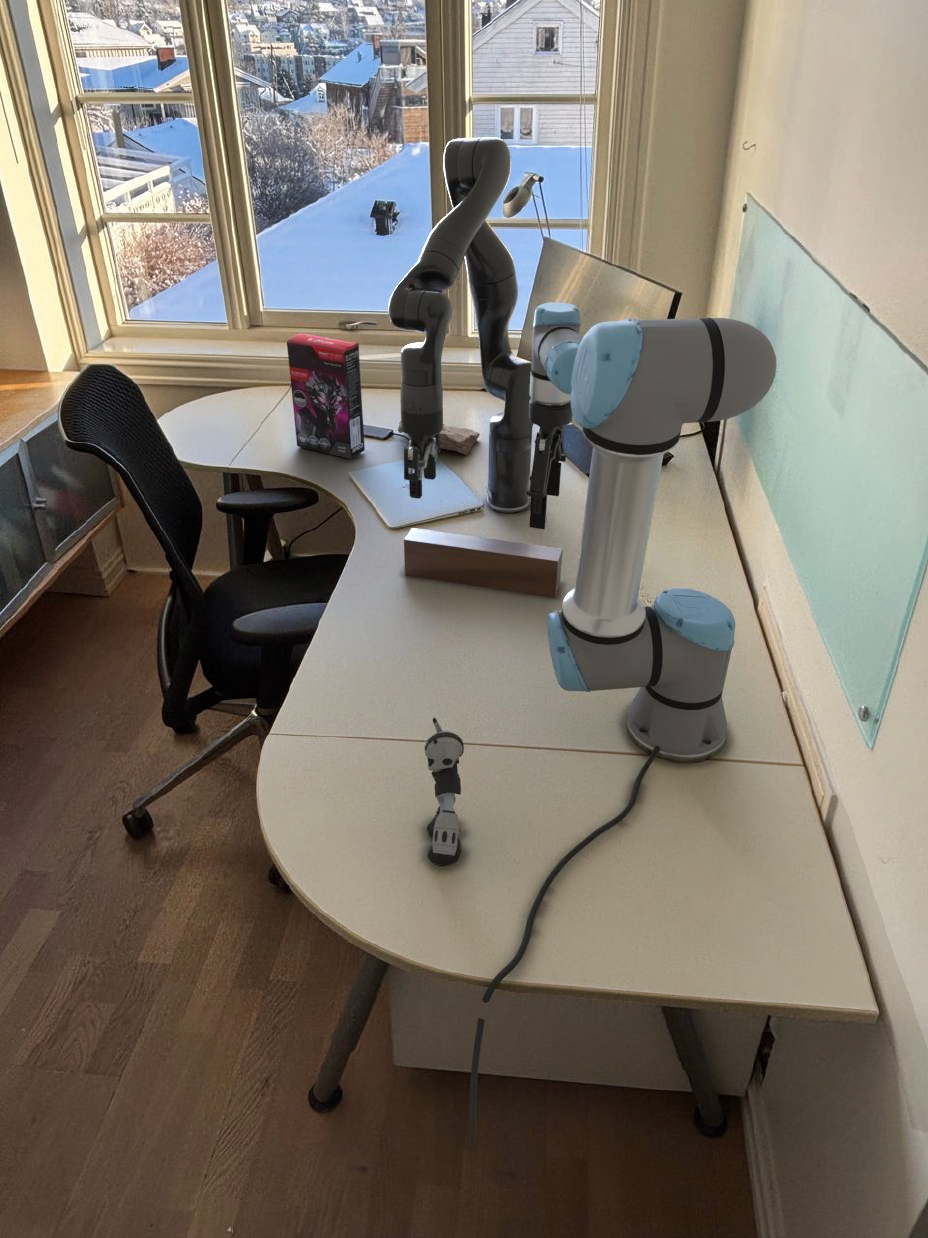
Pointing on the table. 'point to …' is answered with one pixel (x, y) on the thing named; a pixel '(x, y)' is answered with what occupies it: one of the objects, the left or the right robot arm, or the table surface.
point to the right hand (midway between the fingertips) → (544, 510)
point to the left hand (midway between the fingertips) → (423, 487)
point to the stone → (455, 438)
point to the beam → (483, 562)
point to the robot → (444, 794)
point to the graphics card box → (326, 394)
